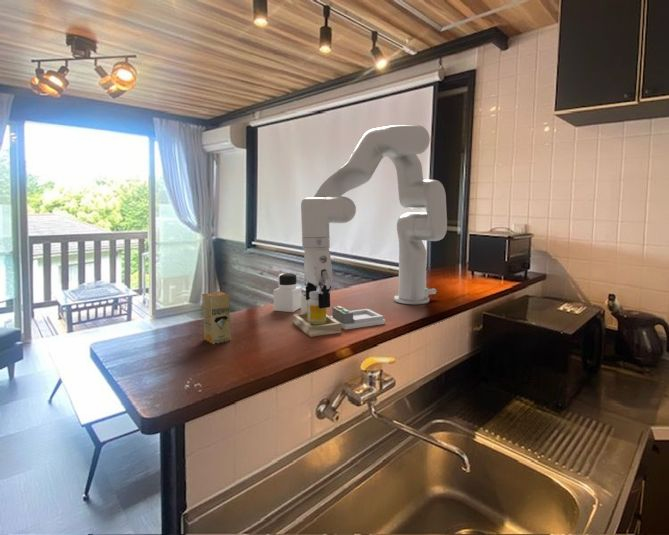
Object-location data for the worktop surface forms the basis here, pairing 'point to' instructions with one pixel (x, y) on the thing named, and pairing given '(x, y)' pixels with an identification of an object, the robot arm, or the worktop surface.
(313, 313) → the supplement bottle
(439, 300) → the worktop surface
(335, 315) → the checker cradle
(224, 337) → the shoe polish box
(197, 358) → the worktop surface
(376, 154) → the robot arm
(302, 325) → the trough
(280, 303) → the medicine bottle
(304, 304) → the cup
